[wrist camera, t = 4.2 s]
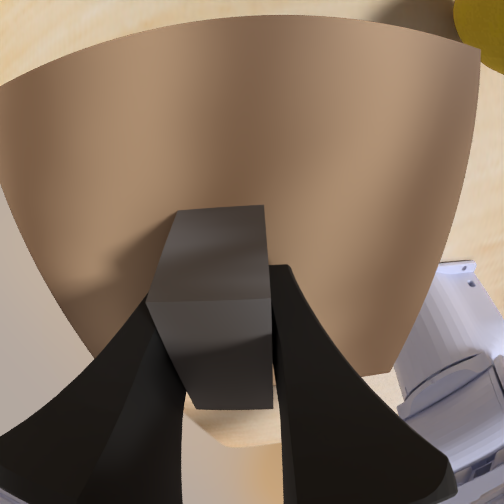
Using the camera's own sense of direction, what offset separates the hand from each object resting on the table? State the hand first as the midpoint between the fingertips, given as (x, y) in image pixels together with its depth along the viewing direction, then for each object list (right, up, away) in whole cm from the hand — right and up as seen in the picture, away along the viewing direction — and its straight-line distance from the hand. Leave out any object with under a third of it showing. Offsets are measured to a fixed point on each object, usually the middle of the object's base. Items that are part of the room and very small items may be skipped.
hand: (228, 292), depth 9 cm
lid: (0, +1, +1) cm, 2 cm away
